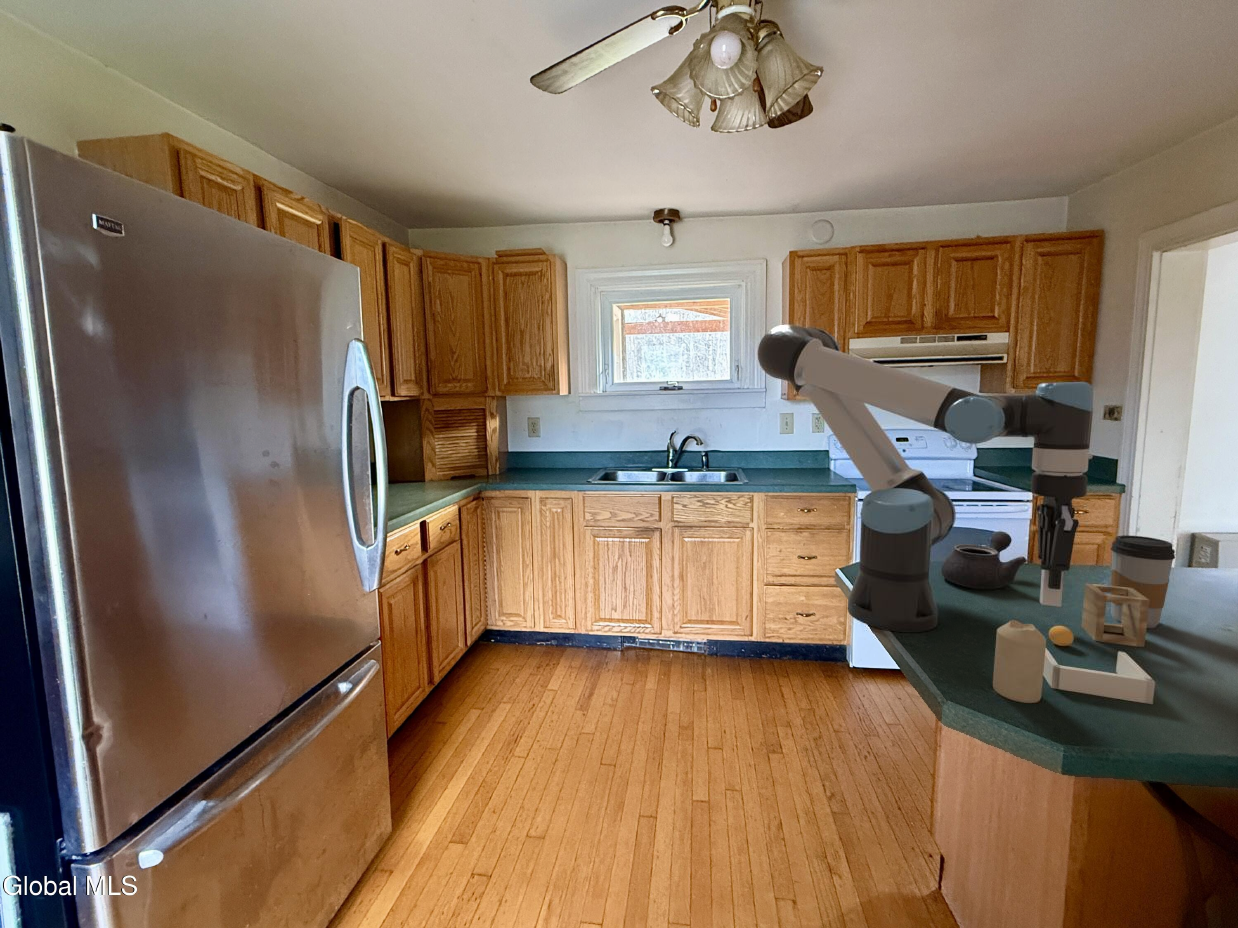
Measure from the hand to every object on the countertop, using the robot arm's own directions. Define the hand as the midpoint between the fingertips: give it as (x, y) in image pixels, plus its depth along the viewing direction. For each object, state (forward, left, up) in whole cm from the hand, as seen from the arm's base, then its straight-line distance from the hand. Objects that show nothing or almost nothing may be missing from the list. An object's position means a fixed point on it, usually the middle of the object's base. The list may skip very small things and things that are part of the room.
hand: (1050, 604), depth 97 cm
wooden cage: (+9, -1, -4) cm, 9 cm away
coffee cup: (+15, +8, -4) cm, 18 cm away
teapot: (-5, +24, -5) cm, 25 cm away
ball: (0, -8, -4) cm, 9 cm away
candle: (-11, -28, -4) cm, 30 cm away
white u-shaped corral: (0, -20, -4) cm, 20 cm away
